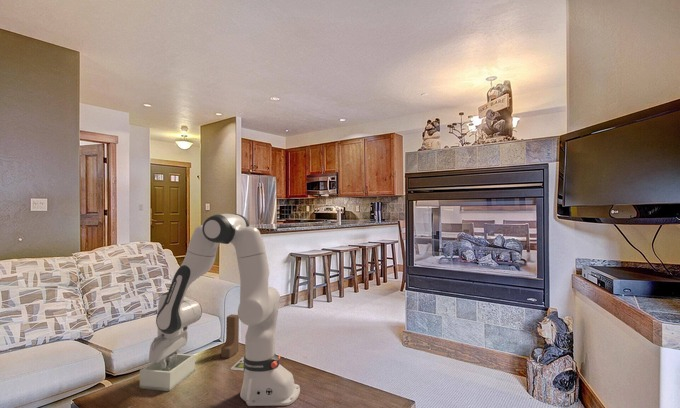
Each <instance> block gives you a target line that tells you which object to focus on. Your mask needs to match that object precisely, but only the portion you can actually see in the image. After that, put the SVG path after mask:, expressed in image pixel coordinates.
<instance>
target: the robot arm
mask: <svg viewBox="0 0 680 408" xmlns="http://www.w3.org/2000/svg"><path fill="white" fill-rule="evenodd" d="M220 244H224V245H228V244H231V245H233V247H234V250H235V254H236V260H237V266H238V270H239V279H240V285H239V286H240V289H239V291H240V292H239V304H238V305H239V306H238V308H237V315H238V317H239V321H240V322H241V323H242V324H244V325H245V326H247V330H246V332H245V335H244V336H245V337H244V338H245V341H244V343H245V346H244V347H245V349H244V355H243V356H244V371H243V373H244V374H243V381H242V385H241V386H242V387H241V389H240V393H239V397H240V398H241V399H242V400H243V402H244V401H245V403H246V405H247V406H248V407H256V406H257V407H260V406H261V407H263V406H264V407H265V406H266V407H269V406H272V407H273V406H274V407H275V406H289V405H291V404H293V403H294V402H295V401H296V400H297V399H298V397H299V395H300V393H301V387H300V385H299V384H297V383H295V379H294V376H293V373H292V372H290V370H287V369H286V368H285V367H284V366H282V364H280V359H281V355H278V356H277V355H276V353H275V347H276V346H275V344H276V338H275V337H276V327H277V321H278V315H279V305H280V301H281V294H280V292H279V291H278V289H276V288H275V287H272V286H269V277H270V269H269V263H268V257H267V251H266V246H265V243H264V240H263V236H262V235H261V232H260V229H258V228H257V227H256V226H255V227H254V226H250V223H249V220H248V219H247V218H246V217H245V216H244V215H242V214H238V213H233V214H232V213H220V214H213V215H210V216H209V217H207V218H206V219H205V220H204V222H203V224H200V225H198V226H196V227H195V229H194V231H193V232H192V235H191V237H190V240H189V243H188V246H187V250H186V253H185V256H184V259H183V261H182V262H181V265H180V266H179V267H178V269H177V270H176V272H174V273H175V274H174V276H173V278H172V281H171V283H170V286H169V288H168V291H167V292H164V293H162V294H161V295H160V296H159V300H158V303H157V314H156V318H155V324H156V327H157V336H156V337H154V339H153V340H152V342H151V344H150V347H149V354H148V361H149V363H152V362H153V363H158V362H159V361H160V363H161V368H166V367H167V366H168V365H167V364H168V362H166V361H165V360H166V357H167V356H169V355H170V354H172V353H175V361H176V357H177V354H179V350H180V349H181V348H183V347H185V346H186V345H187V343H188V338H189V337H188V335H189V334H188V333H189V331H188V329H189V326H190V325H193V324H194V323H197V322H198V321H200V320H201V317H202V314H203V309H202V305H201V304H200V303H199V301H197V300H195V299H191V298H188V297H187V296H186V293H187V291H188V288H189V287H190V286H191V284H192V283H194V282H195V281H196V280H197V279H199V278H200V277H203V275H205V274H207V273H208V272H209V271H210V270H211V269H212V267H213V266H214V264H215V261H216V257H217V253H218V248H219V245H220Z"/></svg>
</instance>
